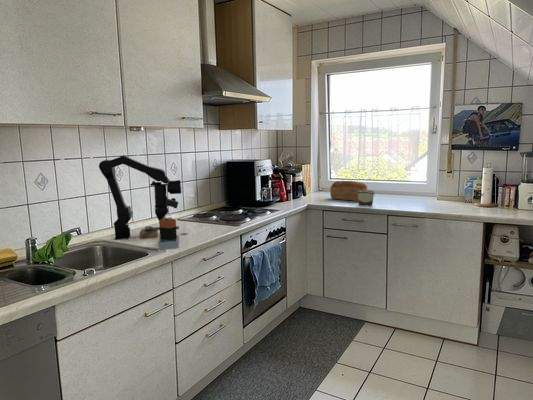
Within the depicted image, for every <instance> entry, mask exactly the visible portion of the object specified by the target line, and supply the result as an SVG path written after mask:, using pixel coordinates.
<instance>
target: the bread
mask: <svg viewBox="0 0 533 400" xmlns="http://www.w3.org/2000/svg"><path fill="white" fill-rule="evenodd" d="M329 188H330V191H329V192H330V198H331V199H333V200H345V201H354V202H358V194H357V192H358V191H360V190H368V186H367V185H366V183H364V182H361V181H356V180H355V181H354V180H337V181H335V182H334V181H333V183H332V184H331V186H330V187H329Z"/></svg>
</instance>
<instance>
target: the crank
mask: <svg viewBox="0 0 533 400" xmlns="http://www.w3.org/2000/svg"><path fill="white" fill-rule="evenodd" d="M144 229H145V231H151V230H158V231H160V227H159V226H155V227H154V226H151V225H149V226H148V225H147V226H145V227H144ZM179 229H180V226H179V225H176V230H179Z"/></svg>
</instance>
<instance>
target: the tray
mask: <svg viewBox="0 0 533 400" xmlns="http://www.w3.org/2000/svg"><path fill="white" fill-rule="evenodd" d="M179 243H180V236H179V234H177V238H176V239H173V240H164V239H160V237H159V239H158V242H157V244H158V245H157V246H158V247H157V248H158V250H167V249H178V248H179V246H180V245H179Z"/></svg>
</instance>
